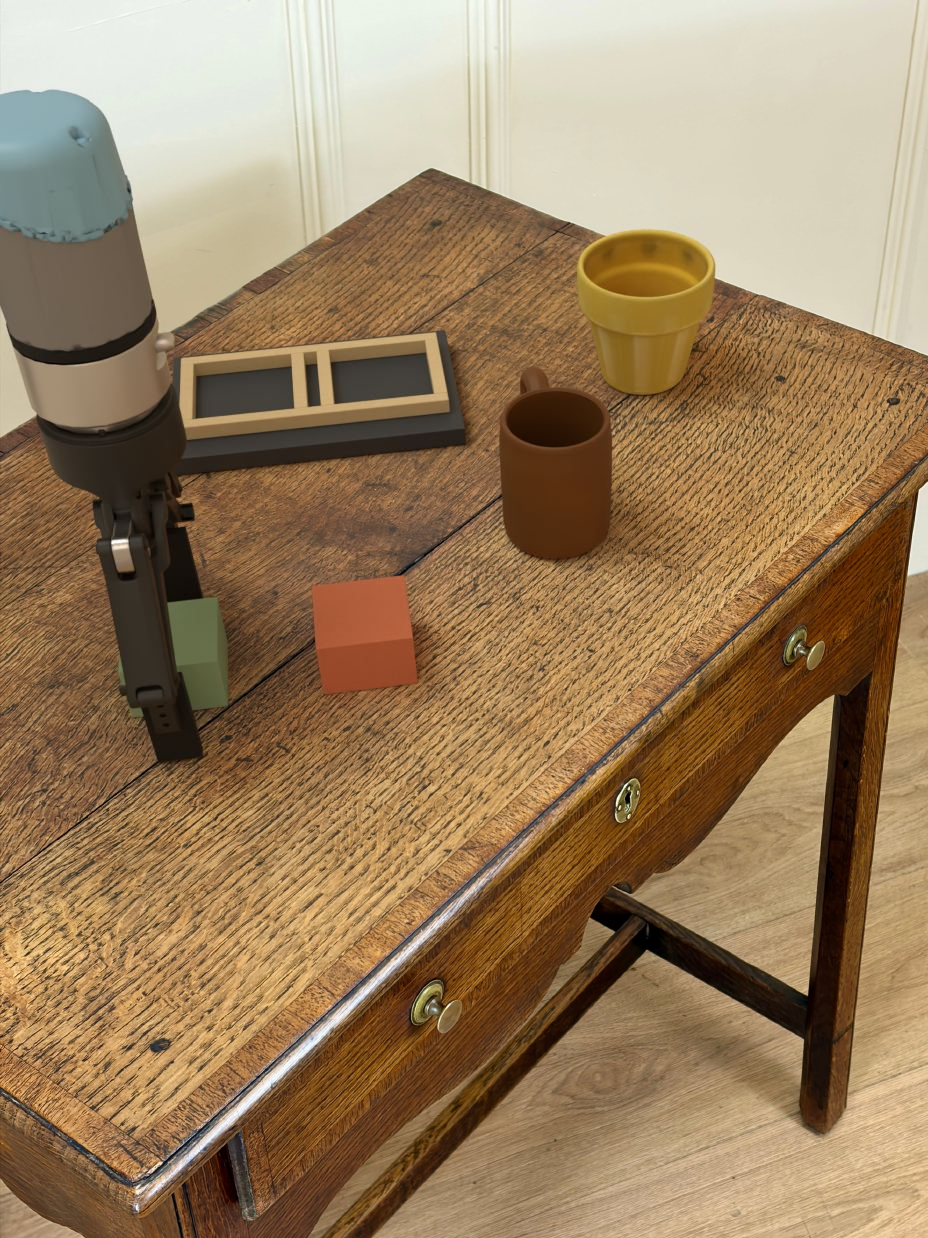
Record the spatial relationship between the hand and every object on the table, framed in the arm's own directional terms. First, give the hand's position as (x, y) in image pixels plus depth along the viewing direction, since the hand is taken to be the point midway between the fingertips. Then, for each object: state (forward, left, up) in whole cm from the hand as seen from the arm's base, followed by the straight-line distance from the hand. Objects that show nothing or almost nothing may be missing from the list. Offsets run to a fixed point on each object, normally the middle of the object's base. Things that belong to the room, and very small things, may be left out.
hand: (182, 678), depth 95 cm
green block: (0, 0, 0) cm, 0 cm away
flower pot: (+36, +29, 0) cm, 46 cm away
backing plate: (+10, +29, 0) cm, 31 cm away
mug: (+26, +13, 0) cm, 29 cm away
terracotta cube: (+12, 0, 0) cm, 12 cm away
